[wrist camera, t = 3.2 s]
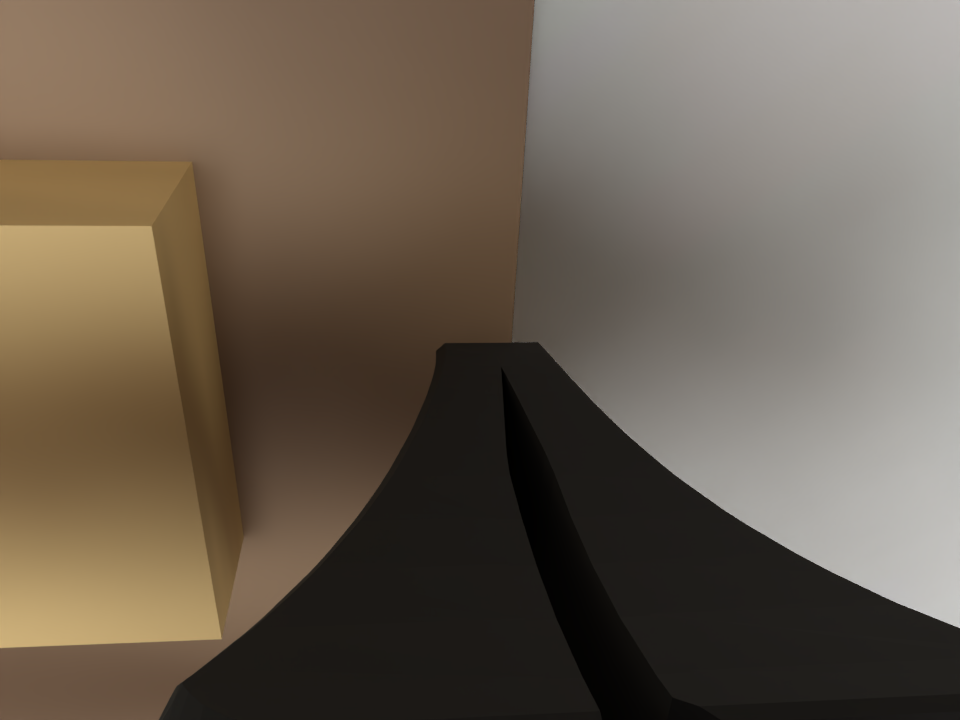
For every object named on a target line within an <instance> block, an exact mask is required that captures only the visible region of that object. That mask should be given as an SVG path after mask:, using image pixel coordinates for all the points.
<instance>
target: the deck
mask: <svg viewBox="0 0 960 720" xmlns="http://www.w3.org/2000/svg"><path fill="white" fill-rule="evenodd" d="M534 1H535V0H0V160H78V161H170V162H192V165H193V172H194V180H195V187H196V194H197V201H198V209H199V216H200V223H201V230H202V238H203V245H204V252H205V259H206V267H207V274H208V281H209V288H210V296H211V303H212V310H213V317H214V325H215V332H216V339H217V346H218V354H219V361H220V368H221V375H222V383H223V390H224V397H225V404H226V411H227V419H228V426H229V433H230V440H231V448H232V455H233V462H234V469H235V477H236V484H237V491H238V498H239V506H240V513H241V520H242V527H243V535H244V539H243V543H242V548H241V553H240V557H239V562H238V566H237V571H236V576H235V580H234V585H233V589H232V594H231V599H230V603H229V608H228V613H227V617H226V622H225V626H224V631H223V636H222V639H215V640H190V641H165V642H139V643H114V644H89V645H63V646H38V647H13V648H0V720H159V718H160V716H161V714H162V712H163V710H164V708H165V707H166V705H167V703H168V701H169V699H170V697H171V695H172V693H173V692H174V690H175V688H176V686H177V685H179V684H180V683H181V682H183V681H184V680H186V679H187V678H188V677H190V676H191V675H193V674H194V673H195V672H196V671H198V670H199V669H200V668H201V667H203V666H204V665H205V664H206V663H208V662H209V661H210V660H212V659H213V658H214V657H215V656H217V655H218V654H219V653H220V652H222V651H223V650H224V649H225V648H227V647H228V646H229V645H230V644H232V643H233V642H234V641H236V640H237V639H238V638H239V637H241V636H242V635H243V634H244V633H246V632H247V631H248V630H249V629H250V628H251V627H253V626H254V625H255V624H256V623H257V622H258V621H259V620H261V619H262V618H263V617H264V616H265V615H266V614H267V613H268V612H269V611H270V610H271V609H272V608H273V607H274V606H275V605H276V604H277V603H278V602H279V601H280V600H281V599H283V598H284V597H285V596H286V595H287V594H288V593H289V592H290V591H291V590H292V589H293V588H294V587H295V586H296V585H297V584H298V583H299V582H300V581H301V580H302V579H303V578H304V577H305V576H306V575H307V574H308V573H309V572H310V571H311V570H312V569H313V568H314V567H315V566H316V565H317V564H318V563H319V562H320V561H321V559H322V558H323V557H324V556H325V555H326V554H327V553H328V552H329V551H330V549H331V548H332V547H333V546H334V545H335V543H336V542H337V541H338V540H339V538H340V537H341V536H342V535H343V534H344V532H345V531H346V530H347V529H348V528H349V526H350V525H351V524H352V523H353V522H354V520H355V519H356V518H357V516H358V515H359V514H360V512H361V511H362V510H363V508H364V507H365V505H366V504H367V503H368V501H369V500H370V499H371V497H372V496H373V494H374V493H375V491H376V490H377V488H378V487H379V485H380V484H381V482H382V481H383V479H384V478H385V476H386V474H387V473H388V471H389V470H390V468H391V466H392V464H393V463H394V461H395V459H396V457H397V455H398V454H399V452H400V450H401V448H402V447H403V445H404V443H405V441H406V439H407V438H408V436H409V434H410V432H411V430H412V428H413V426H414V423H415V421H416V419H417V417H418V414H419V412H420V410H421V407H422V405H423V403H424V400H425V398H426V396H427V393H428V390H429V387H430V384H431V381H432V378H433V374H434V370H435V365H436V350H438V349H439V348H440V347H441V346H442V345H443V344H444V343H511V342H512V328H513V313H514V298H515V283H516V268H517V253H518V238H519V224H520V209H521V194H522V179H523V164H524V149H525V134H526V119H527V105H528V90H529V75H530V60H531V45H532V30H533V15H534Z"/></svg>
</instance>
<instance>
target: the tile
mask: <svg viewBox="0 0 960 720" xmlns="http://www.w3.org/2000/svg"><path fill="white" fill-rule="evenodd" d="M243 539H244V535H243V527H242V520H241V513H240V506H239V498H238V491H237V484H236V477H235V469H234V462H233V455H232V448H231V440H230V433H229V426H228V419H227V411H226V404H225V397H224V390H223V383H222V375H221V368H220V361H219V354H218V346H217V339H216V332H215V325H214V317H213V310H212V303H211V296H210V288H209V281H208V274H207V267H206V259H205V252H204V245H203V238H202V230H201V223H200V216H199V209H198V201H197V194H196V187H195V180H194V172H193V165H192V162H170V161H78V160H0V648H13V647H38V646H63V645H89V644H114V643H139V642H165V641H190V640H215V639H222V636H223V631H224V626H225V622H226V617H227V613H228V608H229V603H230V599H231V594H232V589H233V585H234V580H235V576H236V571H237V566H238V562H239V557H240V553H241V548H242V543H243Z"/></svg>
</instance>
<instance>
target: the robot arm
mask: <svg viewBox="0 0 960 720" xmlns="http://www.w3.org/2000/svg"><path fill="white" fill-rule="evenodd" d="M159 720H960V628H958V627H955V626H953V625H950V624H948V623H945V622H943V621H940V620H938V619H935V618H933V617H930V616H928V615H925V614H923V613H920V612H918V611H915V610H913V609H910V608H908V607H905V606H903V605H900V604H898V603H896V602H893V601H891V600H889V599H887V598H884V597H882V596H880V595H878V594H876V593H874V592H872V591H870V590H868V589H866V588H863V587H861V586H859V585H857V584H855V583H853V582H851V581H849V580H847V579H845V578H843V577H840V576H838V575H836V574H834V573H832V572H830V571H828V570H826V569H824V568H822V567H821V566H819V565H817V564H815V563H813V562H811V561H809V560H807V559H805V558H803V557H801V556H800V555H798V554H796V553H794V552H792V551H791V550H789V549H787V548H785V547H784V546H782V545H780V544H779V543H777V542H775V541H773V540H772V539H770V538H768V537H767V536H765V535H763V534H761V533H760V532H758V531H756V530H755V529H753V528H751V527H750V526H748V525H746V524H745V523H743V522H742V521H740V520H738V519H737V518H735V517H734V516H732V515H731V514H729V513H727V512H726V511H724V510H723V509H721V508H720V507H718V506H717V505H716V504H714V503H713V502H711V501H710V500H709V499H707V498H706V497H704V496H703V495H702V494H700V493H699V492H697V491H696V490H695V489H693V488H692V487H690V486H689V485H687V484H686V483H685V482H683V481H682V480H681V479H679V478H678V477H677V476H675V475H674V474H673V473H672V472H670V471H669V470H668V469H666V468H665V467H664V466H663V465H661V464H660V463H659V462H658V461H657V460H656V459H654V458H653V457H652V456H651V455H650V454H648V453H647V452H646V451H645V450H644V449H643V448H641V447H640V446H639V445H638V444H637V443H636V442H634V441H633V440H632V439H631V438H630V437H629V436H628V435H627V434H625V433H624V432H623V431H622V430H621V429H620V428H619V427H618V426H617V425H616V424H615V423H614V422H613V421H612V420H611V419H610V418H609V417H608V416H607V415H606V414H605V413H604V412H603V411H602V410H601V409H600V408H599V407H597V405H596V404H595V403H594V402H593V401H592V400H591V399H590V398H589V397H588V396H587V395H586V394H585V393H584V392H583V391H582V390H581V389H580V388H579V387H578V385H577V384H576V383H575V382H574V381H573V380H572V379H571V378H570V377H569V376H568V375H567V373H566V372H565V371H564V370H563V369H562V368H561V367H560V366H559V365H558V364H557V362H556V361H555V360H554V359H553V358H552V357H551V356H550V355H549V354H548V353H547V352H546V350H545V349H544V348H543V347H542V346H541V345H540V344H539V343H538V342H527V343H444V344H443V345H442V346H441V347H440V348H439V349H438V350H436V365H435V370H434V374H433V378H432V381H431V384H430V387H429V390H428V393H427V396H426V398H425V400H424V403H423V405H422V407H421V410H420V412H419V414H418V417H417V419H416V421H415V423H414V426H413V428H412V430H411V432H410V434H409V436H408V438H407V439H406V441H405V443H404V445H403V447H402V448H401V450H400V452H399V454H398V455H397V457H396V459H395V461H394V463H393V464H392V466H391V468H390V470H389V471H388V473H387V474H386V476H385V478H384V479H383V481H382V482H381V484H380V485H379V487H378V488H377V490H376V491H375V493H374V494H373V496H372V497H371V499H370V500H369V501H368V503H367V504H366V505H365V507H364V508H363V510H362V511H361V512H360V514H359V515H358V516H357V518H356V519H355V520H354V522H353V523H352V524H351V525H350V526H349V528H348V529H347V530H346V531H345V532H344V534H343V535H342V536H341V537H340V538H339V540H338V541H337V542H336V543H335V545H334V546H333V547H332V548H331V549H330V551H329V552H328V553H327V554H326V555H325V556H324V557H323V558H322V559H321V561H320V562H319V563H318V564H317V565H316V566H315V567H314V568H313V569H312V570H311V571H310V572H309V573H308V574H307V575H306V576H305V577H304V578H303V579H302V580H301V581H300V582H299V583H298V584H297V585H296V586H295V587H294V588H293V589H292V590H291V591H290V592H289V593H288V594H287V595H286V596H285V597H284V598H283V599H281V600H280V601H279V602H278V603H277V604H276V605H275V606H274V607H273V608H272V609H271V610H270V611H269V612H268V613H267V614H266V615H265V616H264V617H263V618H262V619H261V620H259V621H258V622H257V623H256V624H255V625H254V626H253V627H251V628H250V629H249V630H248V631H247V632H246V633H244V634H243V635H242V636H241V637H239V638H238V639H237V640H236V641H234V642H233V643H232V644H230V645H229V646H228V647H227V648H225V649H224V650H223V651H222V652H220V653H219V654H218V655H217V656H215V657H214V658H213V659H212V660H210V661H209V662H208V663H206V664H205V665H204V666H203V667H201V668H200V669H199V670H198V671H196V672H195V673H194V674H193V675H191V676H190V677H188V678H187V679H186V680H184V681H183V682H181V683H180V684H179V685H177V686H176V688H175V690H174V692H173V693H172V695H171V697H170V699H169V701H168V703H167V705H166V707H165V708H164V710H163V712H162V714H161V716H160V718H159Z"/></svg>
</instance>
